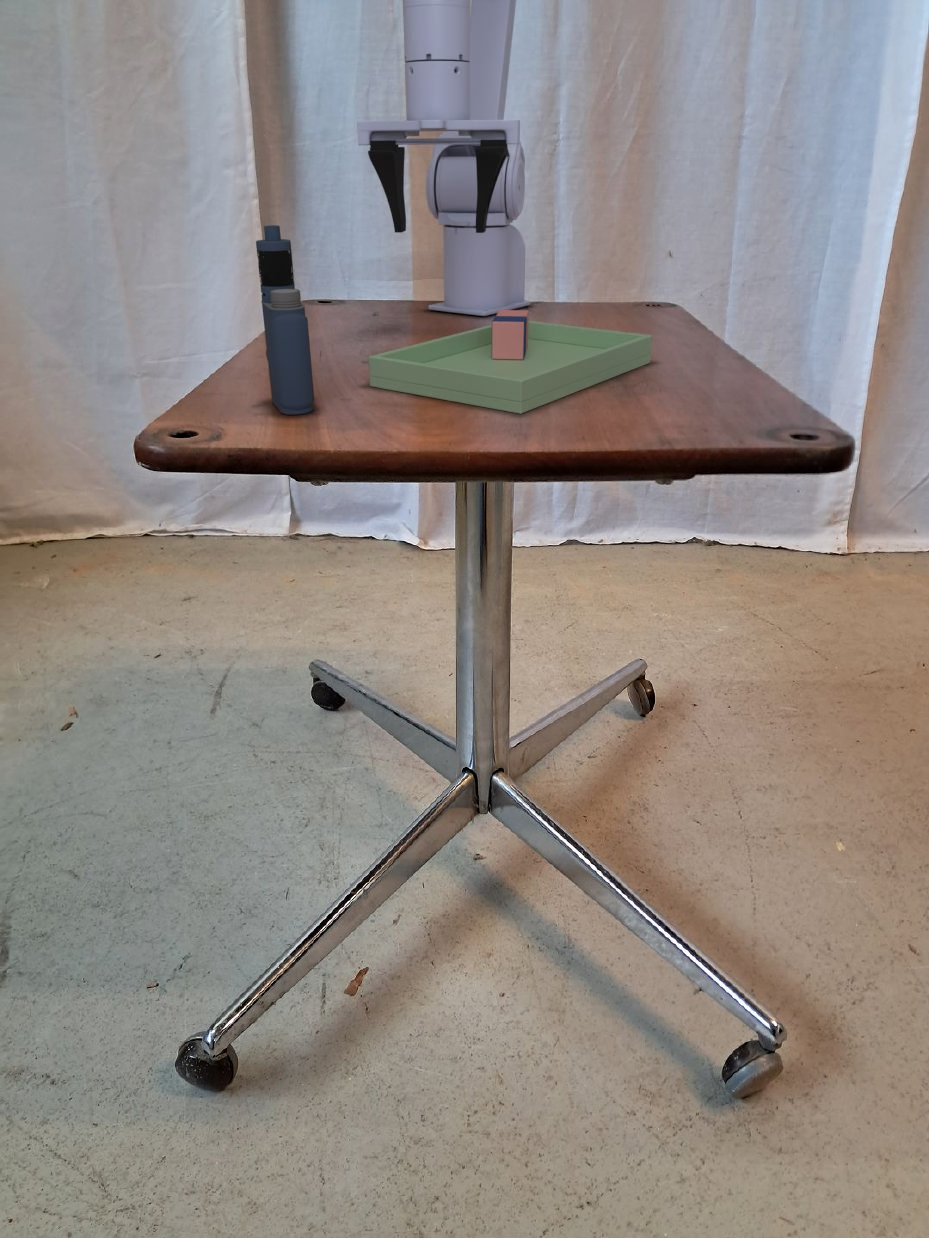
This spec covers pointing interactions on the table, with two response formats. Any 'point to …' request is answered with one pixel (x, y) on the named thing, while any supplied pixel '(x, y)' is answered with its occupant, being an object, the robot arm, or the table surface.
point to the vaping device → (284, 326)
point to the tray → (510, 366)
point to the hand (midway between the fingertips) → (440, 232)
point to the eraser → (510, 334)
